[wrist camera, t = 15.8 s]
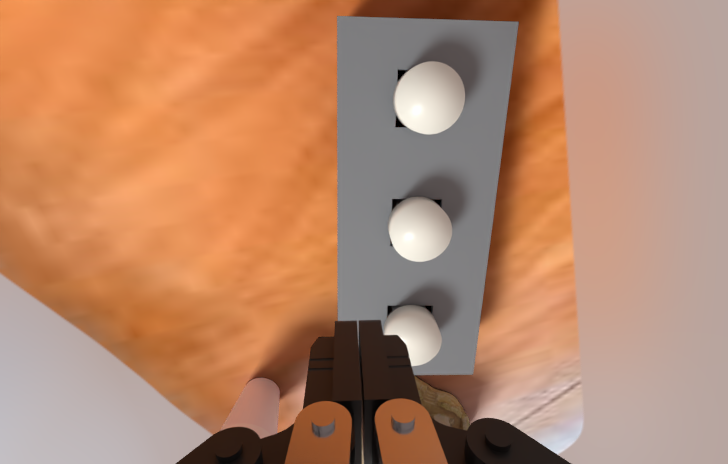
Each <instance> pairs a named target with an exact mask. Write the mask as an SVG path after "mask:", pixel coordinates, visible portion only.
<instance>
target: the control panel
mask: <svg viewBox="0 0 728 464" xmlns="http://www.w3.org/2000/svg"><path fill="white" fill-rule="evenodd" d="M518 24H519V22H512V21H479V20H447V19H415V18H383V17H351V16H337V155H338V321H354V320H357V329H358V346H359V320H381V324H382V330H383V335H384V323H385V321H386V319H387V307H388V306H405V305H417V306H431V314H432V315H433V316H434V319H435V321H436V323H437V326H438V328H439V331H440V333H441V337H442V343H441V347H440V350H439V352H438V353H437V355H436V356H435V357H434V358H433V359H432V360H430V361H429V362H427V363H425V364H422V365H418V366H412V369H413V373H414V375H473V371H474V364H475V356H476V348H477V340H478V333H479V325H480V317H481V309H482V302H483V294H484V286H485V279H486V271H487V263H488V255H489V248H490V240H491V232H492V225H493V217H494V209H495V201H496V194H497V186H498V178H499V171H500V163H501V155H502V147H503V140H504V132H505V124H506V117H507V109H508V101H509V93H510V86H511V78H512V70H513V63H514V55H515V47H516V39H517V32H518ZM430 61H435V62H441V63H444V64H446V65H448V66H450V67H451V68H453V69H454V70H455V71H456V72H457V73H458V75H459V76H460V78H461V80H462V82H463V85H464V89H465V103H464V107H463V110H462V112H461V114H460V116H459V118H458V119H457V121H456V122H455V123H454V124H453V125H452V126H451V127H449V128H448V129H446V130H445V131H442V132H440V133H437V134H421V133H418V132H415V131H413V130H410V129H409V128H407V127H395V124H396V113H395V110H394V106H393V94H394V90H395V87H396V85H397V79H398V70H410V69H411V68H413V67H415V66H417V65H419V64H421V63H424V62H430ZM418 196H419V197H426V198H429V199H440V207H441V208H442V209H443V210H444V212H445V213H446V214H447V215H448V217H449V219H450V221H451V225H452V237H451V240H450V243H449V245H448V246H447V248H446V249H445V250H444V252H443V253H441V254H440V255H439V256H437V257H436V258H434V259H432V260H429V261H424V262H415V261H411V260H408V259H406V258H404V257H402V256H401V255H400V254H399V253H398V252H397V251H396V250H395V248H394V246H393V244H390V235H389V232H388V220H389V216H390V214H391V212H392V199H407V198H410V197H418Z"/></svg>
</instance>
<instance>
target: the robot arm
mask: <svg viewBox="0 0 728 464" xmlns="http://www.w3.org/2000/svg"><path fill="white" fill-rule="evenodd" d="M362 439H363V456H364V464H571V463H569V462H567V461H566V460H565V459H563V458H561V457H560V456H558V455H557V454H555V453H554V452H552V451H551V450H549V449H548V448H546V447H545V446H543V445H542V444H540V443H539V442H537V441H535V440H534V439H532V438H531V437H529V436H528V435H526V434H525V433H523V432H522V431H520V430H519V429H517V428H516V427H514V426H512V425H511V424H509V423H507V422H505V421H502V420H499V419H494V418H483V419H479V420H476V421H474V422H473V423H472V424H471V425H470V426H469V428H468V429H467V431H466V430H462V429H458V428H454V427H450V426H446V425H444V424H441V423H439V422H437V421H436V420H434V419H433V418H431V417H430V415H429V413H428V411H427V410H426V409H425V408H424V407H423V406H422V404H421V400H420V396H419V393H418V389H417V385H416V381H415V377H414V373H413V369H412V366H411V361H410V358H409V353H408V349H407V345H406V344H405V343H404V341H403V340H402V339H401V338H400V337H399V336H398V335H383V330H382V324H381V320H359V346H358V329H357V320H354V321H335V335H334V337H319V338H318V339H317V340H316V341H315V343H314V344H313V345H312V347H311V351H310V360H309V366H308V374H307V382H306V389H305V397H304V405H303V410H302V411H301V412H300V413H299V414H298V416H297V417H296V420H295V423H294V424H293V425H291V426H290V427H289V428H287V429H286V430H284V431H282V432H279V433H277V434H274V435H271V436H268V437H264V438H261V439H260V437H259V435H258V434H257V433H256V432H255V431H253V430H252V429H249V428H246V427H231V428H227V429H224V430H221V431H219V432H217V433H216V434H214V435H213V436H211V437H210V438H209V439H207V440H206V441H205V442H203V443H202V444H201V445H200V446H198V447H197V448H195V449H194V450H193V451H192V452H190V453H189V454H188V455H186V456H185V457H184V458H183V459H181V460H180V461H179V462H177V463H176V464H362Z"/></svg>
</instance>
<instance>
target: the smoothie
mask: <svg viewBox="0 0 728 464" xmlns="http://www.w3.org/2000/svg"><path fill="white" fill-rule="evenodd" d="M279 398H280V390H279V387H278V386H277V384H276V383H275V382H273V381H272V380H270V379H267V378H255V379H253V380H251V381H249V382H248V383H247V384H246V386H245V388H244V389H243V391H242V393H241V395H240V396H239V398H238V400H237V402H236V403H235V405H234V407H233V409H232V410H231V412H230V414H229V416H228V418H227V419H226V421H225V423H224V425H223V426H222V428H221V430H224V429H227V428H231V427H246V428H249V429H252V430H253V431H255V432H256V433H257V434H258V435H259V437H260V439H261V438H264V437H268V436H271V435H274V434H277V428H278V413H279ZM221 430H220V431H221Z"/></svg>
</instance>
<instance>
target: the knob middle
mask: <svg viewBox="0 0 728 464" xmlns="http://www.w3.org/2000/svg"><path fill="white" fill-rule="evenodd" d="M388 232H389V235H390V238H391V241H392V244H393V246H394V248H395V250H396V251H397V252H398V253H399V254H400V255H401V256H402V257H404V258H406V259H408V260H411V261H415V262H424V261H429V260H432V259H434V258H436V257H437V256H439V255H440V254H441V253H443V252H444V250H445V249H446V248H447V246H448V245H449V243H450V240H451V237H452V225H451V221H450V219H449V217H448V215H447V214H446V213H445V212H444V210H443V209H442V208H441V207H440V206H439V205H438V204H437V203H436V202H434V201H433V200H431V199H429V198H426V197H419V196H418V197H410V198H407V199H392V212H391V214H390V216H389V220H388Z"/></svg>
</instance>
